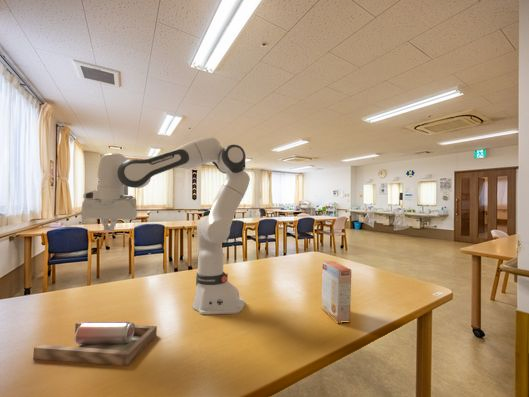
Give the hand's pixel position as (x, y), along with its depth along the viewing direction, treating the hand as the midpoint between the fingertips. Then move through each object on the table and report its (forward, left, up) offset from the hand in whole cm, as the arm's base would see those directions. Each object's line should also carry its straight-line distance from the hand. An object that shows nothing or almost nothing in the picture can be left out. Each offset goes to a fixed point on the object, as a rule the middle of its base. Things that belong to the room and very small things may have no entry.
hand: (108, 230), depth 91 cm
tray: (-11, +17, -33) cm, 39 cm away
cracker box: (-90, -13, -33) cm, 97 cm away
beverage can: (-5, +17, -30) cm, 34 cm away
